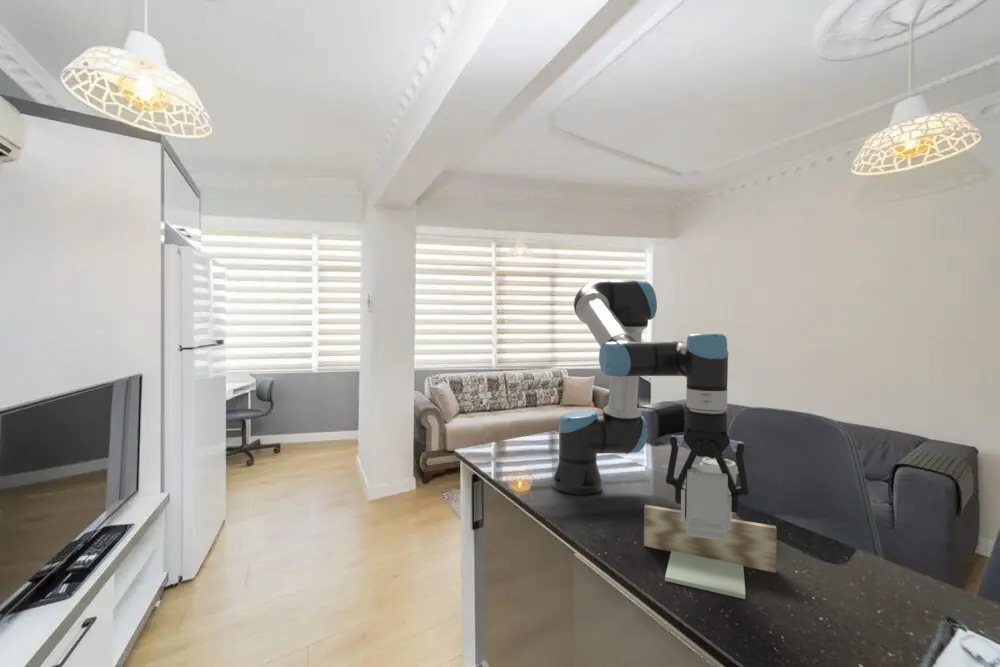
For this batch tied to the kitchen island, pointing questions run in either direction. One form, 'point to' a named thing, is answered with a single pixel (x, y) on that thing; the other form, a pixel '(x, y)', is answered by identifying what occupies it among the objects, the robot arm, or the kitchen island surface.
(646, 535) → the wooden screen
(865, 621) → the kitchen island surface
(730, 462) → the coffee cup
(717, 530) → the supplement box
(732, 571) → the sage pad
